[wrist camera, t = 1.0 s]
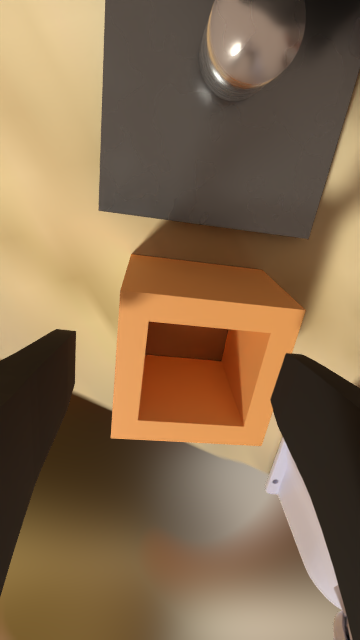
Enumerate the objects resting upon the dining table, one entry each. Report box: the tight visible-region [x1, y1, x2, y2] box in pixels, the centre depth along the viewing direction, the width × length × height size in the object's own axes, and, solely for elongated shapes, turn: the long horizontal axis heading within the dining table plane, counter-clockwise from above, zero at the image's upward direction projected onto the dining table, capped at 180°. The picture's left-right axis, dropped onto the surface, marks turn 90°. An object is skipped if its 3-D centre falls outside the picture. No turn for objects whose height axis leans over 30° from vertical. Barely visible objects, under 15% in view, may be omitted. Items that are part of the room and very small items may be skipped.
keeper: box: [99, 0, 360, 239], centre depth 12 cm, size 14×11×4 cm
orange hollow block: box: [111, 254, 306, 446], centre depth 17 cm, size 8×8×6 cm
